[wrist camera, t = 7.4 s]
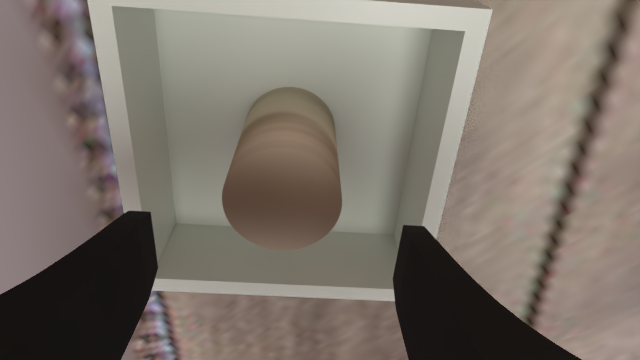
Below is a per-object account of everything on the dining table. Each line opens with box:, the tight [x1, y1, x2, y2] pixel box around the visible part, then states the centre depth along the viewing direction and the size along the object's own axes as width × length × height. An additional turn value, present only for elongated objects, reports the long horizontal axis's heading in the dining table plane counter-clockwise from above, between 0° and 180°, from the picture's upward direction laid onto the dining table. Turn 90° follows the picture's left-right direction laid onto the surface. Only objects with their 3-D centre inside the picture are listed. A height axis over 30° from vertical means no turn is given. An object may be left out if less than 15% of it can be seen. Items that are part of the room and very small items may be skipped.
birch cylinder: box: [222, 87, 342, 250], centre depth 18 cm, size 4×4×6 cm
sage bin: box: [87, 0, 493, 301], centre depth 19 cm, size 12×12×5 cm
